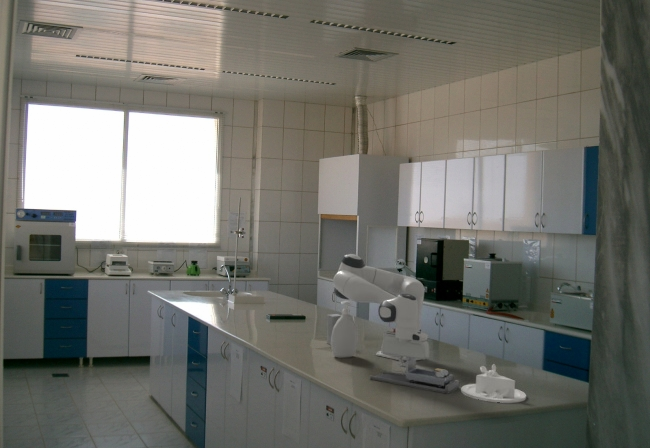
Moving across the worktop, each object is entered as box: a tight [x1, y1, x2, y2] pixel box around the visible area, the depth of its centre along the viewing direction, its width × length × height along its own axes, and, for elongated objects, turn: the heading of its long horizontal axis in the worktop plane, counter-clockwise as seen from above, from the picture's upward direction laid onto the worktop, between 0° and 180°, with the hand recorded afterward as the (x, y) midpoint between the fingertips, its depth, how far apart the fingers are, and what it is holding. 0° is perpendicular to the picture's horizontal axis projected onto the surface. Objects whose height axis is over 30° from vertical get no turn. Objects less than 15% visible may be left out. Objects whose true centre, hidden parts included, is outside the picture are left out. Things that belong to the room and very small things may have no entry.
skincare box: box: [326, 313, 342, 346], centre depth 347 cm, size 8×7×16 cm
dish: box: [460, 363, 527, 404], centre depth 260 cm, size 25×25×11 cm
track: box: [370, 370, 460, 395], centre depth 271 cm, size 34×12×3 cm, turn 59°
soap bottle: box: [330, 300, 359, 359], centre depth 318 cm, size 14×8×27 cm, turn 117°
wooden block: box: [433, 367, 446, 372], centre depth 279 cm, size 4×4×4 cm
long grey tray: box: [405, 358, 454, 389], centre depth 268 cm, size 17×10×9 cm, turn 59°
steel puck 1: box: [435, 372, 444, 378], centre depth 263 cm, size 3×3×3 cm
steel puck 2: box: [440, 369, 449, 378], centre depth 267 cm, size 3×3×3 cm
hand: (404, 366), depth 273 cm, fingers closed
